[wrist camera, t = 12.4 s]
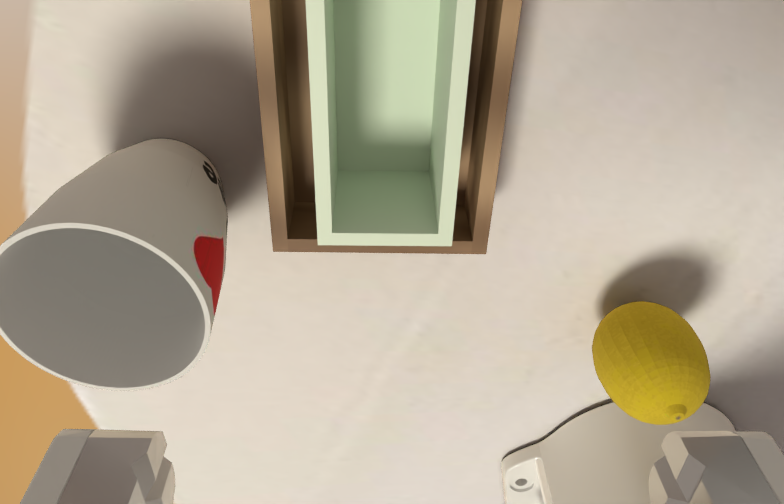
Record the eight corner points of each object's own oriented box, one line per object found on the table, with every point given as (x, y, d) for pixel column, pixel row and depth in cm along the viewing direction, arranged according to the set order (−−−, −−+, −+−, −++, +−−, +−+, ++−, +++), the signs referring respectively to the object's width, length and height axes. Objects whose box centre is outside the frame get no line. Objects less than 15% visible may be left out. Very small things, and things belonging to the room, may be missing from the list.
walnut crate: (474, 209, 33) (485, 253, 30) (283, 206, 33) (273, 251, 29) (517, -138, 24) (540, -129, 21) (255, -147, 24) (236, -140, 20)
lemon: (656, 346, 39) (714, 455, 32) (568, 345, 39) (608, 454, 32) (684, 274, 36) (754, 379, 29) (587, 272, 35) (636, 377, 29)
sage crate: (439, 176, 31) (451, 246, 26) (326, 175, 31) (317, 245, 26) (458, -74, 25) (480, -45, 20) (317, -78, 24) (303, -49, 20)
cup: (225, 270, 35) (180, 412, 27) (72, 219, 33) (-28, 356, 24) (274, 147, 31) (237, 271, 22) (102, 79, 29) (-7, 189, 20)
